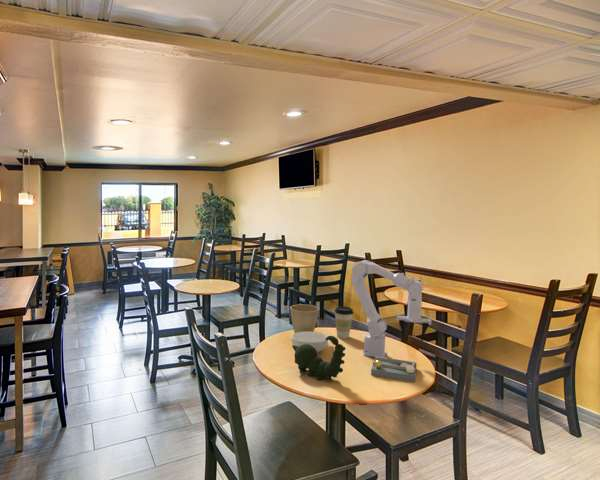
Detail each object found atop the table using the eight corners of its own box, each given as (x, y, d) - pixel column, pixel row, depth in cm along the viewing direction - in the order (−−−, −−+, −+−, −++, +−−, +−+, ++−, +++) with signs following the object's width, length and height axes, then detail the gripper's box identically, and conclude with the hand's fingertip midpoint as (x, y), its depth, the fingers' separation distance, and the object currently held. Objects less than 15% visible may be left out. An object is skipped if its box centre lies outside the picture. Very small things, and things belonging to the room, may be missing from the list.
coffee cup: (332, 338, 202) (333, 310, 201) (334, 333, 212) (335, 305, 211) (352, 340, 201) (353, 311, 200) (352, 334, 210) (353, 307, 209)
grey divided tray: (370, 375, 159) (371, 365, 159) (375, 362, 172) (376, 353, 172) (414, 382, 154) (415, 372, 153) (416, 368, 167) (416, 359, 167)
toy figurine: (345, 384, 154) (297, 361, 170) (351, 338, 151) (302, 319, 167) (331, 392, 147) (282, 367, 163) (337, 343, 144) (287, 323, 160)
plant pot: (293, 344, 192) (294, 312, 191) (285, 334, 207) (286, 304, 205) (322, 342, 197) (323, 310, 196) (312, 333, 211) (313, 303, 210)
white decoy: (405, 373, 155) (406, 365, 155) (406, 370, 158) (406, 363, 158) (414, 375, 154) (414, 367, 154) (414, 372, 157) (414, 364, 157)
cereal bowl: (329, 346, 191) (329, 332, 190) (325, 359, 174) (326, 343, 174) (294, 343, 194) (295, 329, 193) (287, 355, 177) (288, 340, 177)
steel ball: (411, 372, 161) (402, 375, 161) (409, 369, 165) (399, 371, 165) (409, 363, 161) (399, 366, 161) (406, 360, 165) (397, 362, 165)
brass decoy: (373, 368, 159) (374, 361, 159) (374, 365, 162) (375, 358, 162) (381, 370, 158) (382, 362, 158) (382, 367, 161) (383, 359, 161)
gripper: (396, 308, 172) (395, 339, 173) (431, 312, 167) (430, 343, 168) (398, 305, 178) (396, 334, 179) (431, 308, 174) (430, 338, 175)
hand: (412, 338), depth 174 cm, fingers open, 7 cm apart
